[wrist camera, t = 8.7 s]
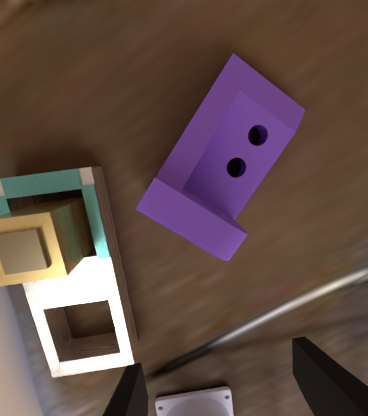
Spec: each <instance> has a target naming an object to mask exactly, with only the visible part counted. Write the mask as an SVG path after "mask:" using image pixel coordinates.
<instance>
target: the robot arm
mask: <svg viewBox="0 0 368 416" xmlns="http://www.w3.org/2000/svg"><path fill="white" fill-rule="evenodd" d="M292 350H293V374H294V377H295V379H296V381H297V383H298V385H299V387H300V389H301V391H302V394H303V396H304V398H305V400H306V402H307V403H308V405H309V407H310V408H311V410H312V412H313V414H314V415H315V416H368V386H367V385H365V384H364V383H363V382H361V381H360V380H359V379H357V378H356V377H355V376H353V375H352V374H351V373H350V372H348V371H347V370H346V369H344V368H343V367H342V366H341V365H339V364H338V363H337V362H336V361H334V360H333V359H332V358H331V357H329V356H328V355H327V354H326V353H324V352H323V351H322V350H321V349H320V348H318V347H317V346H316V345H315V344H313V343H312V342H311V341H310V340H308V339H307V338H306V337H299V338H293V339H292ZM155 407H156V412H157V416H233V406H232V396H231V390H230V388H229V387H227V386H224V387H218V388H212V389H206V390H200V391H194V392H188V393H182V394H175V395H169V396H163V397H158V398H157V399H156V400H155ZM147 414H148V394H147V389H146V384H145V380H144V375H143V370H142V365H141V363H137V364H130V365H127V367H126V368H125V371H124V373H123V375H122V377H121V379H120V382H119V384H118V386H117V388H116V390H115V392H114V394H113V396H112V398H111V400H110V402H109V404H108V406H107V408H106V410H105V412H104V414H103V415H102V416H147Z"/></svg>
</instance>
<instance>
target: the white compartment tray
mask: <svg viewBox="0 0 368 416" xmlns="http://www.w3.org/2000/svg"><path fill="white" fill-rule="evenodd" d="M76 189H82V193H83V198H84V202H85V206H86V211H87V215H88V219H89V223H90V228H91V232H92V236H93V241H94V245H95V247H94V248H93V249H92V250H91V251H90V252H89V253H88V254H87V255H86V257H85V258H84V259H83V260H82V261H81V262H80V263H79V264H78V265H77V266H76V268H75V269H74V270H73V271H72V272H71V273H70V274H69V275H68V276H67V277H60V278H53V279H47V280H40V281H33V282H26V283H22V284H23V287H24V290H25V293H26V296H27V299H28V303H29V306H30V309H31V312H32V315H33V318H34V321H35V324H36V327H37V330H38V333H39V336H40V339H41V343H42V346H43V349H44V352H45V355H46V358H47V361H48V364H49V367H50V370H51V373H52V376H53V377H59V376H66V375H72V374H78V373H84V372H91V371H97V370H103V369H109V368H115V367H122V366H127V365H130V364H134V363H135V357H136V352H137V346H138V336H137V331H136V326H135V322H134V317H133V312H132V307H131V302H130V297H129V293H128V288H127V283H126V278H125V273H124V268H123V264H122V259H121V254H120V249H119V244H118V240H117V235H116V230H115V225H114V220H113V215H112V211H111V206H110V201H109V196H108V191H107V187H106V182H105V177H104V172H103V167H102V166H99V167H86V168H79V169H70V170H63V171H55V172H47V173H40V174H32V175H24V176H17V177H9V178H1V179H0V215H2V214H5V213H9V212H12V211H15V210H18V209H22V208H25V207H28V206H31V205H34V202H33V198H32V195H39V194H46V193H54V192H61V191H69V190H76ZM102 300H109V304H110V309H111V313H112V317H113V322H114V326H115V330H116V332H113V333H106V334H100V335H93V336H87V337H80V338H74V339H73V338H72V334H71V331H70V327H69V324H68V320H67V317H66V313H65V310H64V306H68V305H75V304H82V303H88V302H95V301H102Z"/></svg>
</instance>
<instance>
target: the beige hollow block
mask: <svg viewBox="0 0 368 416" xmlns="http://www.w3.org/2000/svg"><path fill="white" fill-rule="evenodd" d="M94 247H95V245H94V241H93V236H92V232H91V228H90V223H89V219H88V215H87V211H86V206H85V202H84V198H83V197H78V198H70V199H63V200H56V201H48V202H41V203H38V204H35V205H31V206H28V207H25V208H22V209H18V210H15V211H12V212H9V213H5V214H2V215H0V286H6V285H13V284H19V283H26V282H33V281H40V280H47V279H53V278H60V277H67V276H68V275H69V274H70V273H71V272H72V271H73V270H74V269H75V268H76V266H77V265H78V264H79V263H80V262H81V261H82V260H83V259H84V258H85V257H86V255H87V254H88V253H89V252H90V251H91V250H92V249H93V248H94Z"/></svg>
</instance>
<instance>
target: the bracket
mask: <svg viewBox="0 0 368 416" xmlns="http://www.w3.org/2000/svg"><path fill="white" fill-rule="evenodd" d="M304 113H305V109H304V108H302V107H301V106H300V105H299V104H297V103H296V102H295V101H294V100H292V99H291V98H290V97H288V96H287V95H286V94H285V93H283V92H282V91H281V90H280V89H278V88H277V87H276V86H274V85H273V84H272V83H271V82H269V81H268V80H267V79H266V78H264V77H263V76H262V75H261V74H259V73H258V72H257V71H255V70H254V69H253V68H252V67H250V66H249V65H248V64H247V63H245V62H244V61H243V60H241V59H240V58H239V57H238V56H236V55H235V54H234V53H233V54H232V56H231V57H230V59H229V60H228V62H227V64H226V65H225V67H224V68H223V70H222V72H221V73H220V75H219V76H218V78H217V80H216V81H215V83H214V84H213V86H212V88H211V89H210V91H209V92H208V94H207V96H206V97H205V99H204V100H203V102H202V104H201V105H200V107H199V108H198V110H197V112H196V113H195V115H194V116H193V118H192V120H191V121H190V123H189V124H188V126H187V128H186V129H185V131H184V132H183V134H182V136H181V137H180V139H179V140H178V142H177V144H176V145H175V147H174V148H173V150H172V152H171V153H170V155H169V156H168V158H167V160H166V161H165V163H164V164H163V166H162V168H161V169H160V171H159V172H158V174H157V176H156V177H155V178H154V179H153V181H152V183H151V184H150V186H149V188H148V189H147V191H146V192H145V194H144V196H143V197H142V199H141V201H140V202H139V204H138V206H137V207H136V210H137V211H139V212H141V213H142V214H144V215H146V216H147V217H149V218H151V219H153V220H154V221H156V222H158V223H159V224H161V225H163V226H165V227H166V228H168V229H170V230H171V231H173V232H175V233H176V234H178V235H180V236H182V237H183V238H185V239H187V240H188V241H190V242H192V243H193V244H195V245H197V246H199V247H200V248H202V249H204V250H205V251H207V252H209V253H210V254H212V255H214V256H216V257H218V258H220V259H222V260H225V261H229V260H230V259H231V257H232V256H233V254H234V253H235V252H236V250H237V249H238V247H239V246H240V245H241V243H242V242H243V240H244V239H245V238H246V236H247V235H248V233H247V232H246V231H245V230H244V229H243V228H242V227H241V226H240V225H239V224H237V223H236V222H235V221H234V220H235V219H236V217H237V216H238V214H239V213H240V212H241V210H242V209H243V207H244V206H245V204H246V203H247V201H248V200H249V199H250V197H251V196H252V194H253V193H254V191H255V190H256V188H257V187H258V186H259V184H260V183H261V181H262V180H263V178H264V177H265V176H266V174H267V173H268V171H269V170H270V168H271V167H272V165H273V164H274V163H275V161H276V160H277V158H278V157H279V155H280V154H281V152H282V151H283V150H284V148H285V147H286V145H287V144H288V142H289V141H290V139H291V138H292V137H293V135H294V134H295V132H296V130H297V128H298V126H299V124H300V121H301V119H302V117H303V115H304ZM252 127H255V128H256V129H257V130H258V131H259V134H260V142H259V144H258V146H254V145H252V144H251V143H250V142H249V139H248V133H249V130H250V129H251V128H252ZM233 158H238V159H239V161H240V163H241V170H240V173H239V174H238V175H237V176H236V177H235V178H234V177H231V176H230V175H229V174H228V172H227V164H228V162H229V161H230V160H231V159H233Z"/></svg>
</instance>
